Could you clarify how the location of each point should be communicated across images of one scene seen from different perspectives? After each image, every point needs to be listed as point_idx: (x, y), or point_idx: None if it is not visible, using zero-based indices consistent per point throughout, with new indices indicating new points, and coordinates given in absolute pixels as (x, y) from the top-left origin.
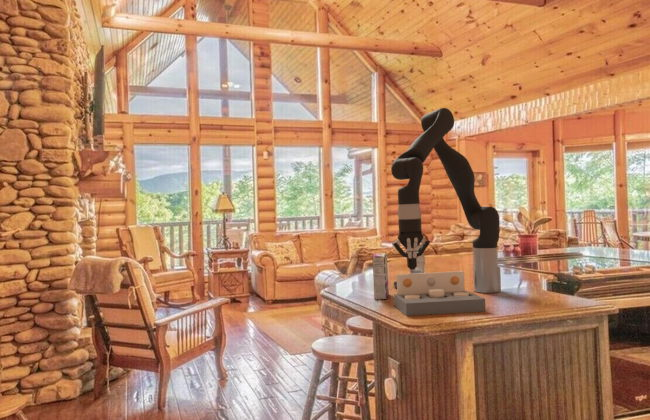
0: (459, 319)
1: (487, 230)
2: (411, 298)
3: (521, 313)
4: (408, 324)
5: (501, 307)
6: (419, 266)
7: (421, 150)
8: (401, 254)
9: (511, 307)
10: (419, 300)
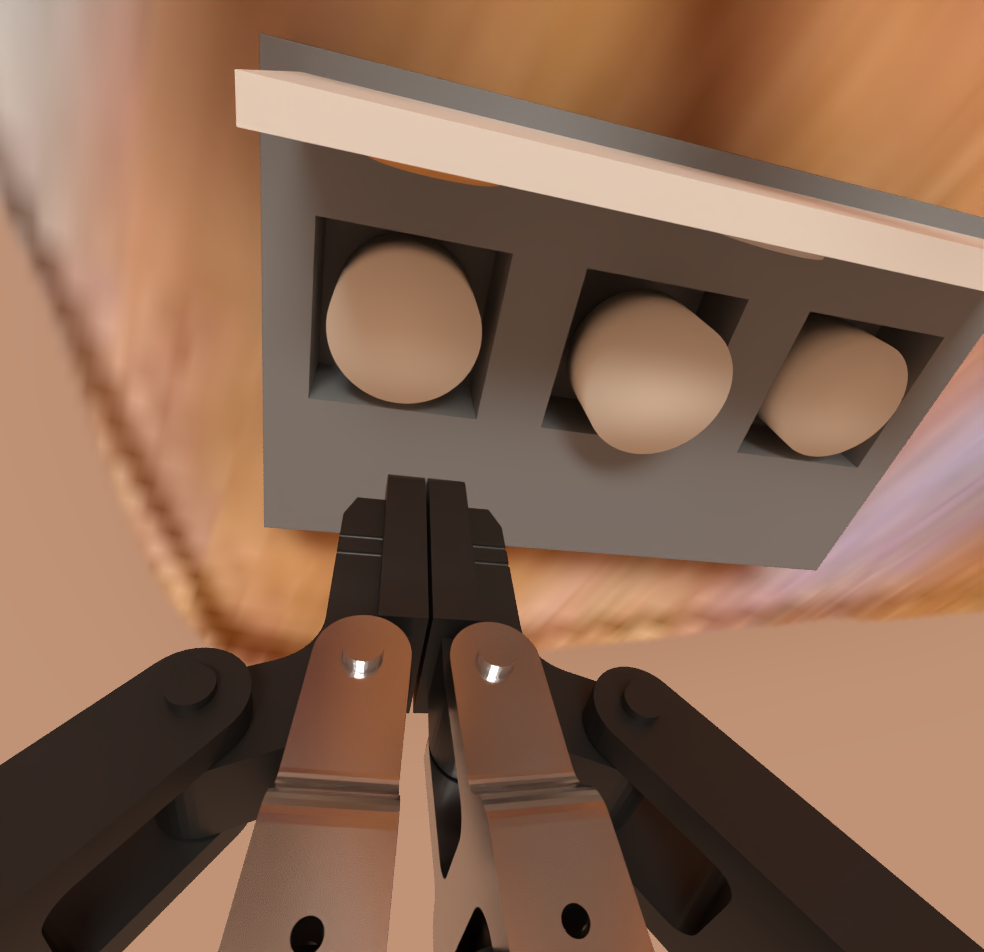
0: (534, 609)
1: None
2: (372, 389)
3: (858, 596)
4: (238, 622)
5: (926, 471)
6: None
7: None
8: (135, 721)
9: (961, 488)
10: (408, 474)
